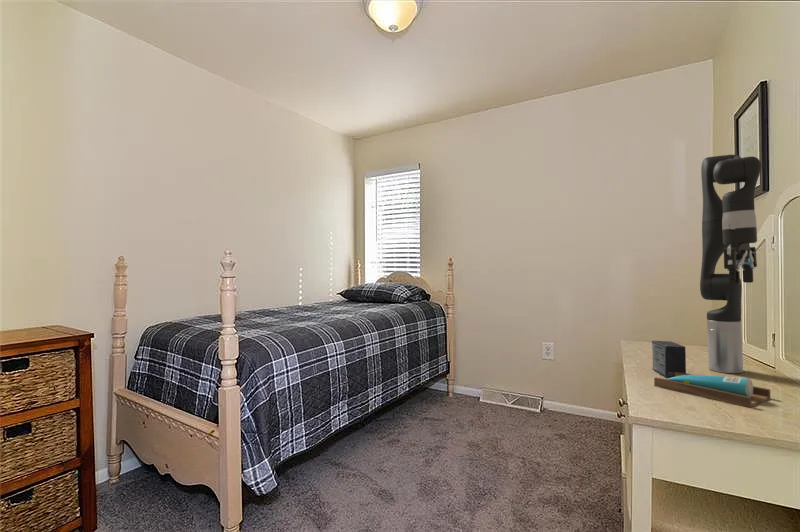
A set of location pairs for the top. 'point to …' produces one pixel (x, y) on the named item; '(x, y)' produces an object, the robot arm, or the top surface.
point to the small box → (668, 358)
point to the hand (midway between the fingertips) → (741, 283)
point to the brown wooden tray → (714, 392)
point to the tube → (718, 383)
